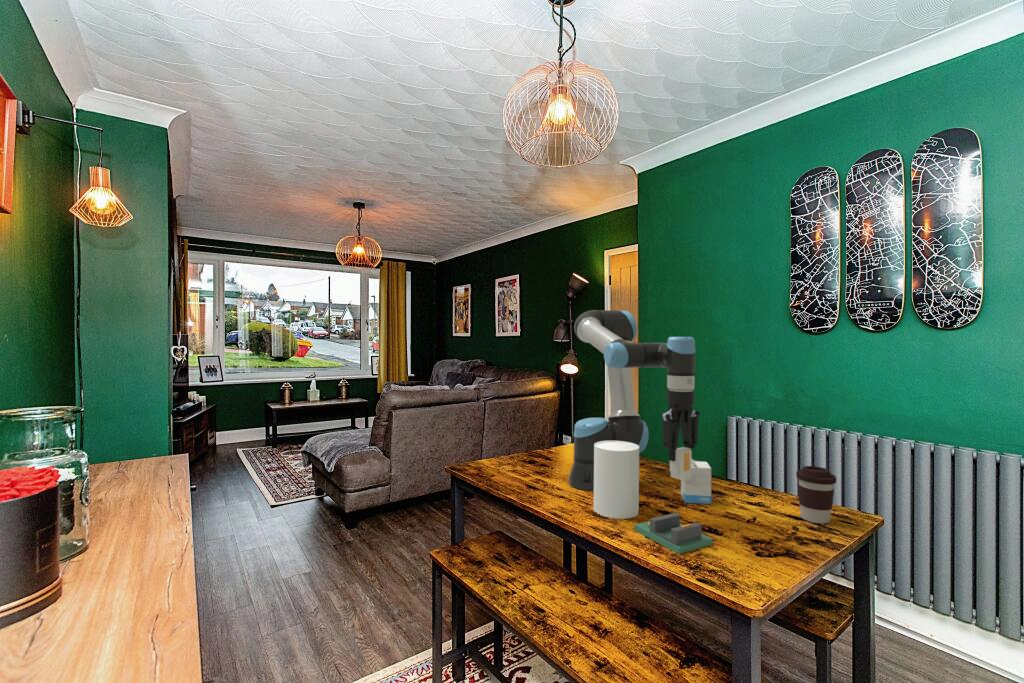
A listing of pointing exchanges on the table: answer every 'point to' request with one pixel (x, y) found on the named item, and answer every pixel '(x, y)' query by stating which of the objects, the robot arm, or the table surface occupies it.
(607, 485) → the canister
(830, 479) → the coffee cup
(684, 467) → the plug
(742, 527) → the table surface
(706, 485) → the ink box
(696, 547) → the board
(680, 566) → the table surface
